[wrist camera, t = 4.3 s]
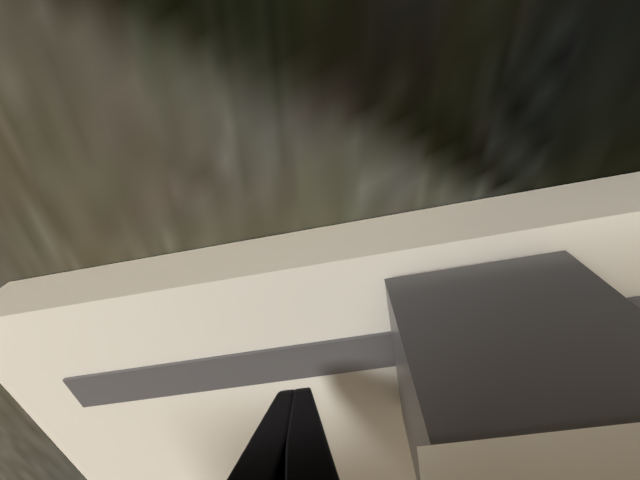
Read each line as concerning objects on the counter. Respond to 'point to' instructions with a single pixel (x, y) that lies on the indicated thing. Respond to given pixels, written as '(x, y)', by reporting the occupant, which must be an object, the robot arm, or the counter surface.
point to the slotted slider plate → (271, 331)
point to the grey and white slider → (517, 371)
